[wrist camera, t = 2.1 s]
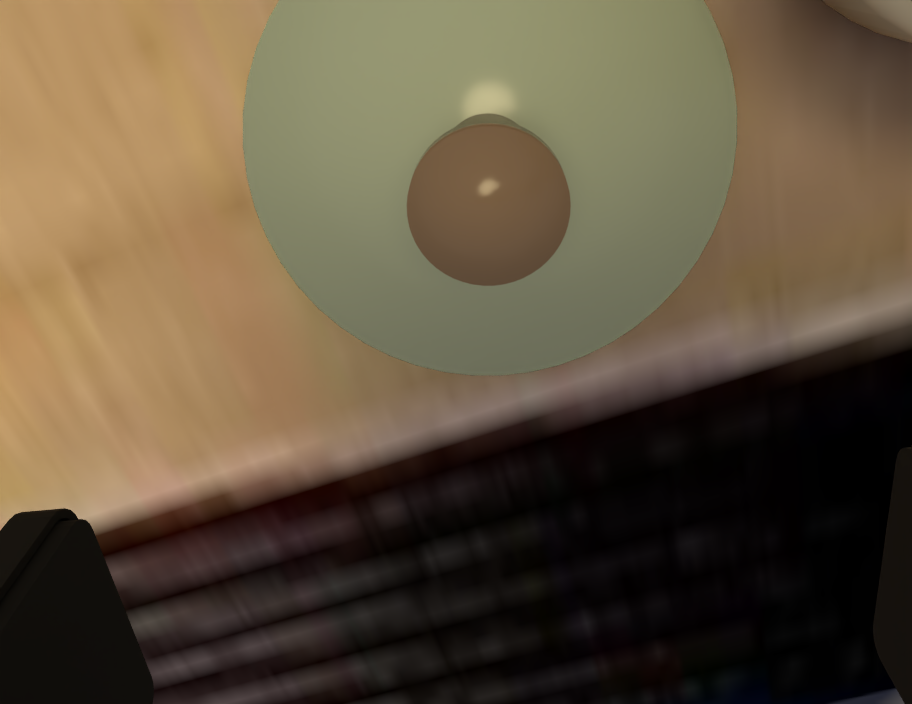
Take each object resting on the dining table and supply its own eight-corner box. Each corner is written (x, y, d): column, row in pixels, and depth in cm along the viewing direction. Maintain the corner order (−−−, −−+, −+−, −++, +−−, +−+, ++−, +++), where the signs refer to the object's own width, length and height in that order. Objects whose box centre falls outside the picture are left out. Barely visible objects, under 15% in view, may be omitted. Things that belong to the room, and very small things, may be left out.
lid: (833, 81, 27) (928, 122, 21) (542, 432, 33) (555, 537, 27) (408, -246, 23) (383, -303, 17) (173, 218, 29) (98, 287, 24)
